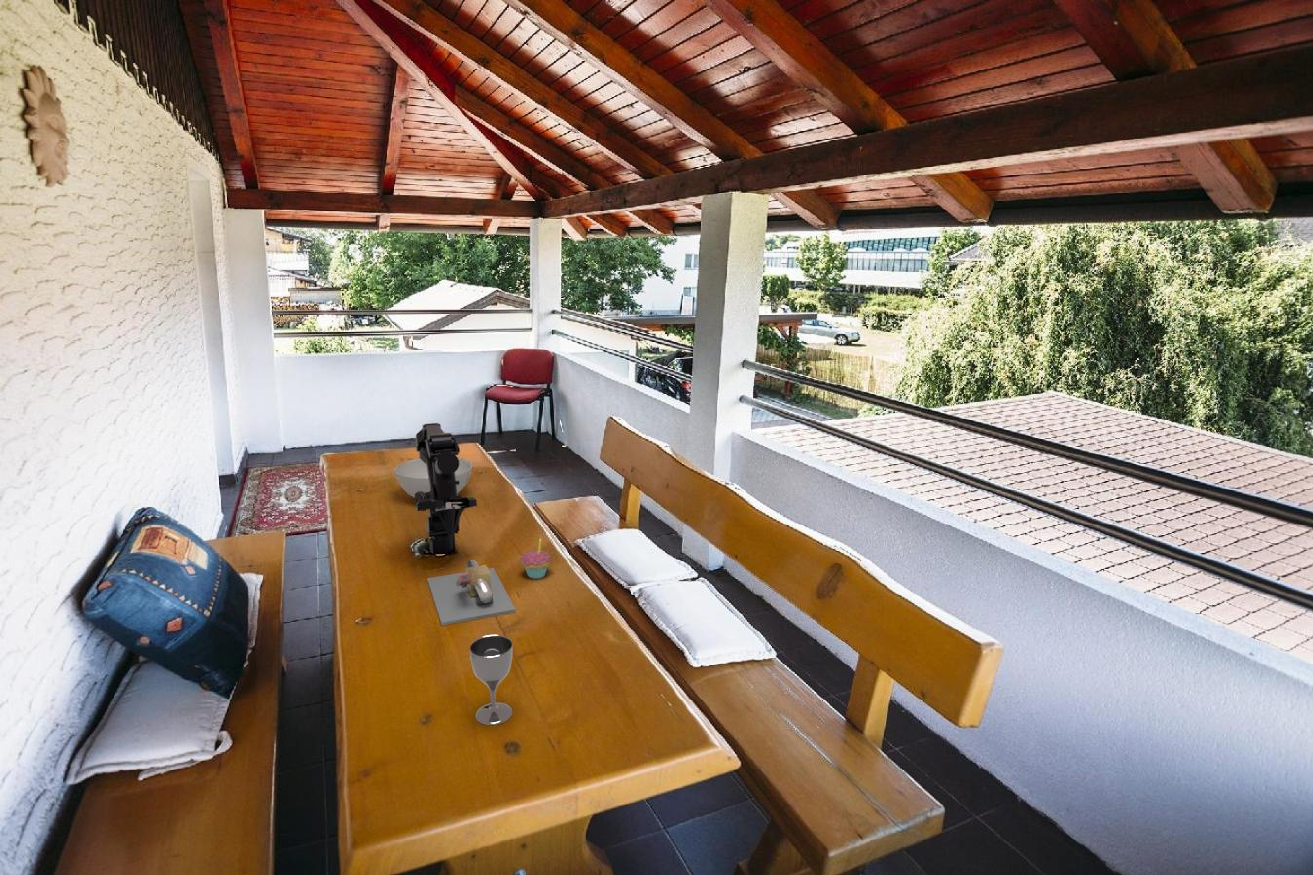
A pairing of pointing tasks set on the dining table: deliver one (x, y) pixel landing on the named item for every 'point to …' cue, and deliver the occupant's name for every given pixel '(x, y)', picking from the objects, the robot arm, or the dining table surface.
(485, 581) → the ball valve
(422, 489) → the decorative bowl
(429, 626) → the dining table surface
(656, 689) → the dining table surface
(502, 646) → the wine glass
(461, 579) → the valve lever
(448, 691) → the dining table surface
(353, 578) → the dining table surface
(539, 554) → the cupcake
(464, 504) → the robot arm
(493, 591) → the mounting board
